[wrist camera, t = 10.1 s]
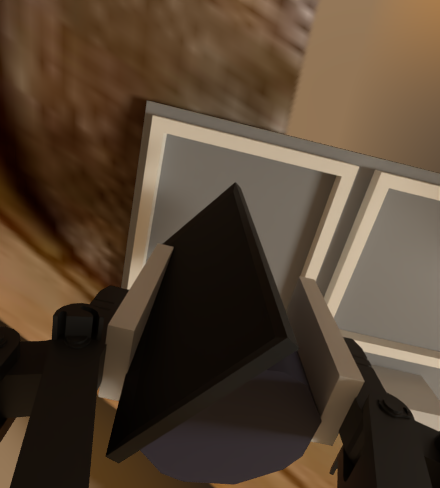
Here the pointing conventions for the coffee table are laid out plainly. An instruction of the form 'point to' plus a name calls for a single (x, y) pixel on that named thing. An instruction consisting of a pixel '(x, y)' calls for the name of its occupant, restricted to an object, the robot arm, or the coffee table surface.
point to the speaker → (216, 361)
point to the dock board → (311, 232)
